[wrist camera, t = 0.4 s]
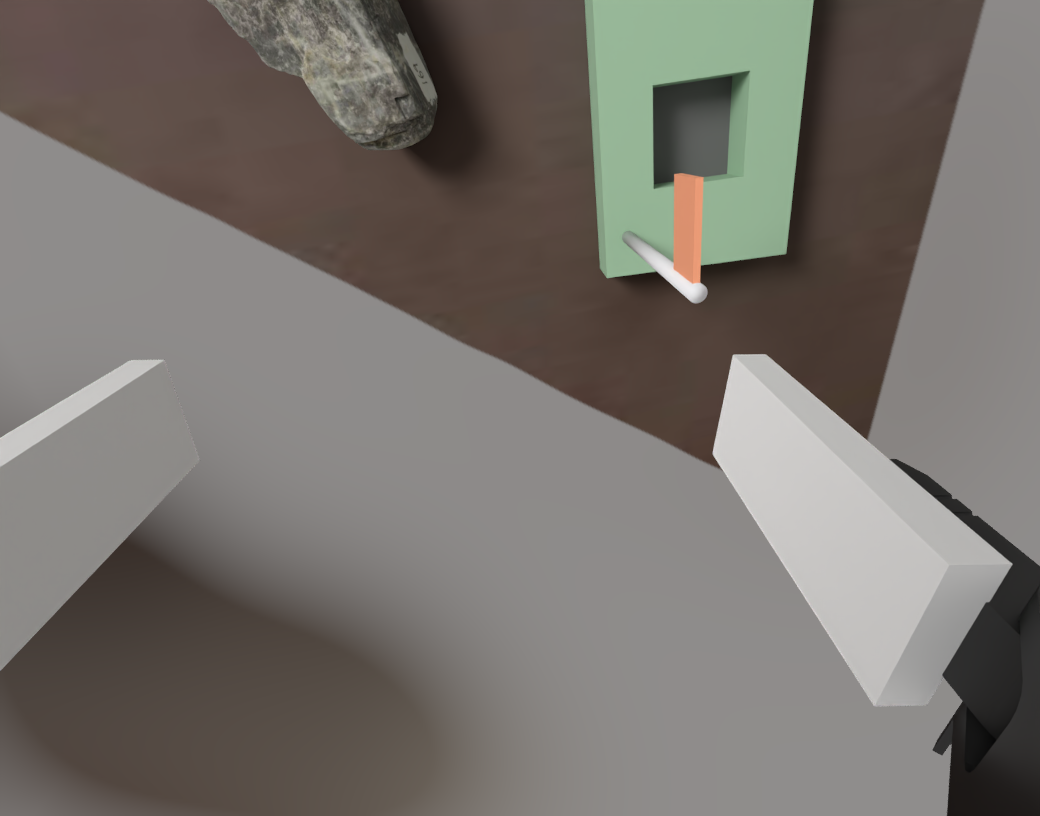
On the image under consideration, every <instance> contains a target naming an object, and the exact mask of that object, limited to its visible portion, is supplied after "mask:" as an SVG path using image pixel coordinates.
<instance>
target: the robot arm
mask: <svg viewBox="0 0 1040 816" xmlns="http://www.w3.org/2000/svg"><path fill="white" fill-rule="evenodd" d="M713 455H714V457H715V459H716V460H717V462H718V463H719V465H720V466H721V468H722V470H723V471H724V473H725V474H726V476H727V477H728V479H729V480H730V482H731V484H732V485H733V487H734V488H735V490H736V491H737V493H738V494H739V496H740V498H741V499H742V501H743V502H744V504H745V505H746V507H747V509H748V510H749V512H750V513H751V515H752V516H753V518H754V519H755V521H756V522H757V524H758V525H759V527H760V529H761V530H762V532H763V533H764V535H765V536H766V538H767V539H768V541H769V543H770V544H771V546H772V547H773V549H774V551H775V552H776V554H777V555H778V557H779V558H780V560H781V562H782V563H783V565H784V566H785V568H786V569H787V571H788V572H789V574H790V576H791V577H792V578H793V580H794V582H795V583H796V585H797V586H798V588H799V590H800V591H801V592H802V594H803V596H804V597H805V599H806V600H807V602H808V604H809V605H810V607H811V608H812V610H813V611H814V613H815V614H816V616H817V618H818V619H819V620H820V622H821V624H822V625H823V627H824V629H825V630H826V632H827V633H828V635H829V636H830V638H831V639H832V641H833V643H834V644H835V646H836V647H837V649H838V650H839V652H840V653H841V655H842V657H843V658H844V660H845V661H846V663H847V664H848V666H849V667H850V669H851V670H852V672H853V674H854V675H855V677H856V678H857V680H858V682H859V683H860V685H861V686H862V688H863V689H864V691H865V692H866V694H867V695H868V697H869V699H870V700H871V702H872V703H873V705H874V706H909V705H910V706H911V705H927V704H928V702H929V701H930V699H931V697H932V696H933V694H934V692H935V690H936V689H937V687H938V686H939V684H940V682H941V681H942V679H943V678H945V679H946V681H947V682H948V683H949V684H950V686H951V687H952V688H953V689H954V691H955V692H956V693H957V694H958V696H959V697H960V698H961V699H962V701H963V702H962V703H961V705H960V706H959V708H958V709H957V711H956V712H955V714H954V715H953V717H952V718H951V720H950V721H949V723H948V724H947V726H946V728H945V729H944V731H943V732H942V734H941V735H940V737H939V738H938V740H937V742H936V744H935V746H934V748H933V751H935V752H937V753H938V754H941V755H943V753H944V752H945V751H946V749H947V748H948V746H949V745H951V744H952V748H951V763H950V764H951V765H950V779H949V794H948V810H947V816H1040V566H1039V565H1037V564H1036V563H1035V562H1034V561H1033V560H1031V559H1030V558H1029V557H1027V556H1026V555H1025V554H1024V553H1022V552H1021V551H1020V550H1019V549H1018V548H1016V547H1015V546H1014V545H1013V544H1012V543H1010V542H1009V541H1008V540H1006V539H1005V538H1004V537H1003V536H1002V535H1000V534H999V533H998V532H997V531H995V530H994V529H993V528H992V527H991V526H989V525H988V524H987V523H986V522H984V521H983V520H982V519H981V518H979V517H978V516H973V515H972V511H971V510H970V509H968V508H967V507H966V506H965V505H963V504H962V503H961V502H960V501H958V500H957V499H952V495H951V494H950V493H948V492H947V491H946V490H945V489H944V488H942V487H941V486H940V485H939V484H938V483H936V482H935V481H934V480H932V479H931V478H930V477H929V476H927V475H926V474H924V473H922V472H920V471H918V470H916V469H914V468H912V467H910V466H908V465H907V464H905V463H903V462H901V461H899V460H897V459H888V458H887V457H886V456H885V455H883V454H882V453H881V452H880V451H879V450H878V449H876V448H875V447H874V446H873V445H872V444H871V443H869V442H868V441H867V440H866V439H865V438H863V437H862V436H861V435H860V434H859V433H858V432H856V431H855V430H854V429H853V428H852V427H851V426H849V425H848V424H847V423H846V422H845V421H843V420H842V419H841V418H840V417H839V416H838V415H836V414H835V413H834V412H833V411H832V410H831V409H829V408H828V407H827V406H826V405H825V404H823V403H822V402H821V401H820V400H819V399H818V398H816V397H815V396H814V395H813V394H812V393H811V392H809V391H808V390H807V389H806V388H805V387H803V386H802V385H801V384H800V383H799V382H798V381H796V380H795V379H794V378H793V377H792V376H791V375H789V374H788V373H787V372H786V371H785V370H783V369H782V368H781V367H780V366H779V365H778V364H776V363H775V362H774V361H773V360H772V359H771V358H769V357H768V356H767V355H766V354H753V355H733V358H732V363H731V368H730V372H729V377H728V382H727V387H726V392H725V396H724V401H723V406H722V411H721V416H720V420H719V425H718V430H717V435H716V440H715V444H714V449H713ZM199 461H200V459H199V456H198V453H197V450H196V447H195V445H194V442H193V439H192V436H191V434H190V431H189V428H188V425H187V422H186V419H185V416H184V413H183V411H182V408H181V405H180V402H179V399H178V397H177V394H176V391H175V388H174V385H173V382H172V380H171V377H170V374H169V371H168V368H167V365H166V363H165V360H130V361H129V362H127V363H125V364H124V365H122V366H120V367H118V368H117V369H115V370H113V371H112V372H110V373H108V374H107V375H105V376H103V377H102V378H100V379H98V380H97V381H95V382H93V383H91V384H90V385H88V386H87V387H85V388H83V389H81V390H80V391H78V392H76V393H75V394H73V395H71V396H70V397H68V398H66V399H65V400H63V401H61V402H60V403H58V404H56V405H55V406H53V407H51V408H50V409H48V410H46V411H44V412H43V413H41V414H39V415H38V416H36V417H34V418H33V419H31V420H29V421H28V422H26V423H25V424H23V425H21V426H19V427H17V428H16V429H14V430H12V431H11V432H9V433H7V434H6V435H4V436H2V437H1V438H0V671H1V669H2V668H3V667H4V666H5V665H6V664H7V663H8V662H9V661H10V660H11V659H12V658H13V657H14V656H15V655H16V654H17V653H18V651H19V650H20V649H21V648H22V647H23V646H24V645H25V644H26V643H27V642H28V641H29V640H30V639H31V638H32V637H33V636H34V635H35V634H36V633H37V632H38V630H39V629H40V628H41V627H42V626H43V625H44V624H45V623H46V622H47V621H48V620H49V619H50V618H51V617H52V616H53V615H54V614H55V613H56V611H57V610H58V609H59V608H60V607H61V606H62V605H63V604H64V603H65V602H66V601H67V600H68V599H69V598H70V597H71V596H72V595H73V594H74V593H75V592H76V590H77V589H78V588H79V587H80V586H81V585H82V584H83V583H84V582H85V581H86V580H87V579H88V578H89V577H90V576H91V575H92V574H93V573H94V571H95V570H96V569H97V568H98V567H99V566H100V565H101V564H102V563H103V562H104V561H105V560H106V559H107V558H108V557H109V556H110V555H111V553H113V551H114V550H115V549H116V548H117V547H118V546H119V545H120V544H121V543H122V542H123V541H124V540H125V539H126V538H127V537H128V536H129V534H130V533H131V532H132V531H133V530H134V529H135V528H136V527H137V526H138V525H139V524H140V523H141V522H142V521H143V520H144V519H145V518H146V517H147V515H149V513H150V512H151V511H152V510H153V509H154V508H155V507H156V506H157V505H158V504H159V503H160V502H161V501H162V500H163V499H164V498H165V497H166V496H167V494H168V493H169V492H170V491H171V490H172V489H173V488H174V487H175V486H176V485H177V484H178V483H179V482H180V481H181V480H182V479H183V478H184V477H185V476H186V475H187V473H188V472H189V471H190V470H191V469H192V468H193V467H194V466H195V465H196V464H197V463H198V462H199Z"/></svg>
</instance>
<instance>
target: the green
mask: <svg viewBox="0 0 1040 816" xmlns="http://www.w3.org/2000/svg"><path fill="white" fill-rule="evenodd" d="M813 2H814V0H585V14H586V31H587V48H588V66H589V83H590V101H591V118H592V136H593V153H594V170H595V188H596V205H597V223H598V240H599V258H600V269H601V270H602V272H603V273H604V274H605V276H606V277H607V278H612V277H619V276H626V275H634V274H641V273H649V272H656V271H657V272H658V273H659V274H660V275H662V276H663V277H664V278H665V279H666V280H667V281H668V282H669V283H671V284H672V285H673V286H674V287H675V288H676V289H677V290H678V291H680V292H681V293H682V294H683V295H684V296H685V297H686V298H688V299H689V300H690V301H691V302H693V303H700V302H702V301H703V300H704V299H705V298H706V296H707V288H706V287H705V286H704V285H703V284H701V283H700V270H701V265H708V264H715V263H723V262H730V261H738V260H745V259H752V258H760V257H767V256H775V255H782V254H786V251H787V242H788V232H789V223H790V214H791V205H792V196H793V186H794V177H795V168H796V159H797V149H798V140H799V131H800V122H801V112H802V103H803V94H804V85H805V75H806V66H807V57H808V48H809V39H810V29H811V20H812V11H813Z"/></svg>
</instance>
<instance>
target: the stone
mask: <svg viewBox="0 0 1040 816" xmlns="http://www.w3.org/2000/svg"><path fill="white" fill-rule="evenodd" d="M208 1H209V3H210V4H213V5H214V6H215V7H216V8H217V9H218V10H219V11H220V13H221V14H222V16H223V17H224V19H225V20H226V21H227V23H228V24H229V25H230V26H231V27H232V28H233V29H234V30H235V32H236V33H237V34H238V35H239V36H240V37H242V38H244V39H246V40H247V41H248V42H249V43H250V44H251V45H252V47H253V48H254V49H255V51H256V52H257V53H258V55H259V56H260V58H261V59H262V61H263V62H264V63H265V64H266V65H268V66H269V67H270V68H274V69H276V70H278V71H282V72H287V73H288V74H290V75H291V74H294V75H296V76H298V77H301V78H303V79H304V81H305V83H306V84H307V86H308V88H309V90H310V91H311V92H312V94H313V95H314V97H315V98H316V100H317V102H318V103H319V104H320V106H321V107H322V108H323V110H324V111H325V112H326V114H327V115H328V116H329V118H330V119H331V120H332V121H333V122H334V123H335V124H336V125H337V126H338V127H339V128H340V129H341V130H342V131H343V132H344V133H345V134H346V135H347V136H348V137H350V138H351V139H352V140H354V141H355V142H356V143H358V144H359V145H360V146H362V147H363V148H365V149H368V150H396V149H402V148H405V147H408V146H411V145H413V144H415V143H417V142H419V141H420V140H422V139H424V138H425V137H426V136H427V135H428V134H429V133H430V132H431V130H432V127H433V124H434V118H435V115H436V110H437V94H436V91H435V88H434V85H433V81H432V79H431V76H430V74H429V71H428V69H427V66H426V63H425V61H424V59H423V57H422V54H421V51H420V49H419V47H418V45H417V43H416V41H415V39H414V37H413V34H412V32H411V30H410V27H409V25H408V22H407V20H406V18H405V16H404V14H403V12H402V9H401V7H400V5H399V3H398V0H208Z"/></svg>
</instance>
